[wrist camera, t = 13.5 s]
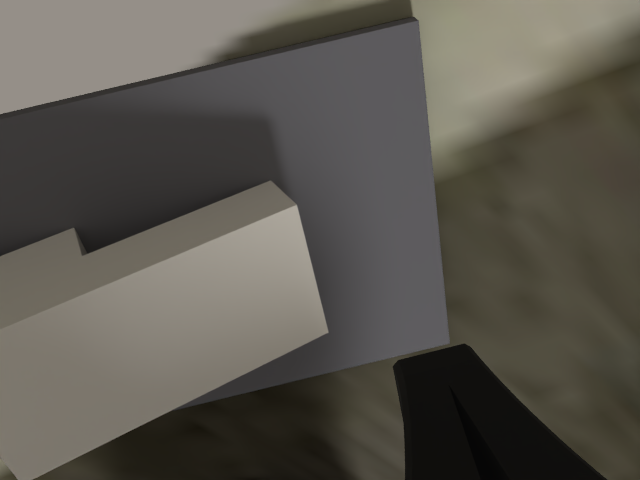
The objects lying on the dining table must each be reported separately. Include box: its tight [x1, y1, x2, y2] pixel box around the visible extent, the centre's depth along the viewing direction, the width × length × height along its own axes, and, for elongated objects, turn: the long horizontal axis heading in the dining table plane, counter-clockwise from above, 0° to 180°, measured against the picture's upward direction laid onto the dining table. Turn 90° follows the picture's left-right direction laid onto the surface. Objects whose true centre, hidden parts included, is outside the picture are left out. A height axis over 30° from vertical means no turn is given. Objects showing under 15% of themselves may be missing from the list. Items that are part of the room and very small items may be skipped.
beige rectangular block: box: [0, 180, 329, 480], centre depth 14 cm, size 2×4×8 cm
